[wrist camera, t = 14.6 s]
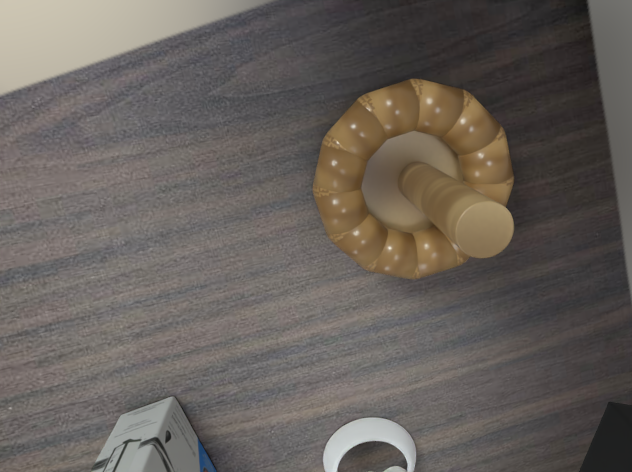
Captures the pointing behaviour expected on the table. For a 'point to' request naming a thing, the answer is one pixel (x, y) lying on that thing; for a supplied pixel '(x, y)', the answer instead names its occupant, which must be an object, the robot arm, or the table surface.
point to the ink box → (153, 442)
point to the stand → (433, 195)
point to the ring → (369, 135)
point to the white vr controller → (366, 432)
